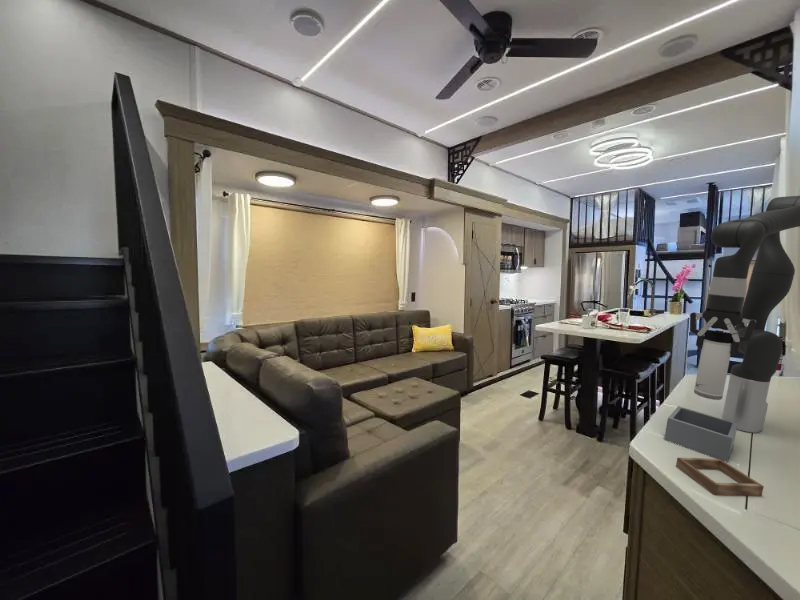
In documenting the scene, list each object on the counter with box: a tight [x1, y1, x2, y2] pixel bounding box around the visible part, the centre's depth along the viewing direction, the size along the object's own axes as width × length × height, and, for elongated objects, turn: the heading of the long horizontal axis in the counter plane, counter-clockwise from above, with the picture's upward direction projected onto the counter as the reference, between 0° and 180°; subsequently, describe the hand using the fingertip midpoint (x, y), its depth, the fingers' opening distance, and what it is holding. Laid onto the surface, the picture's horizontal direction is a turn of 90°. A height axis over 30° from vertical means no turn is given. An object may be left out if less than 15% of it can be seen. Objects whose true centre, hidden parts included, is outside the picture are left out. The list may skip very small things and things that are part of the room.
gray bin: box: [663, 405, 738, 463], centre depth 102 cm, size 14×14×7 cm
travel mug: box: [693, 329, 733, 401], centre depth 99 cm, size 6×7×20 cm
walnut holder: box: [675, 457, 765, 497], centre depth 85 cm, size 12×11×2 cm
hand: (715, 351), depth 99 cm, fingers closed on travel mug, 6 cm apart
